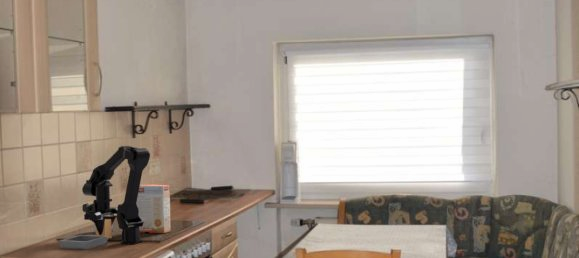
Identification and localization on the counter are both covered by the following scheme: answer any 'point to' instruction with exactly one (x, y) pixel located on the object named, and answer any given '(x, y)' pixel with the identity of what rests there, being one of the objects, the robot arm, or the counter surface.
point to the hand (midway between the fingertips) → (103, 233)
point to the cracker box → (154, 208)
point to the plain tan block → (106, 229)
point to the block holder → (83, 242)
